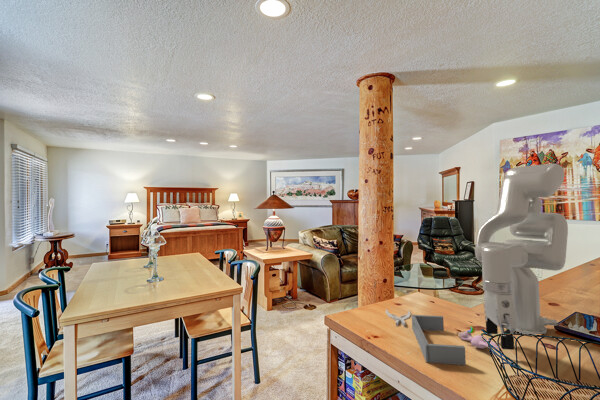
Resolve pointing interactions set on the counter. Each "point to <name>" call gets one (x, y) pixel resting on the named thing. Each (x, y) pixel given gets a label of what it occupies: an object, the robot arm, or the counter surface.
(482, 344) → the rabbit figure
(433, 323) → the box
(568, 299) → the counter surface
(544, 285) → the counter surface
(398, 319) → the pliers
